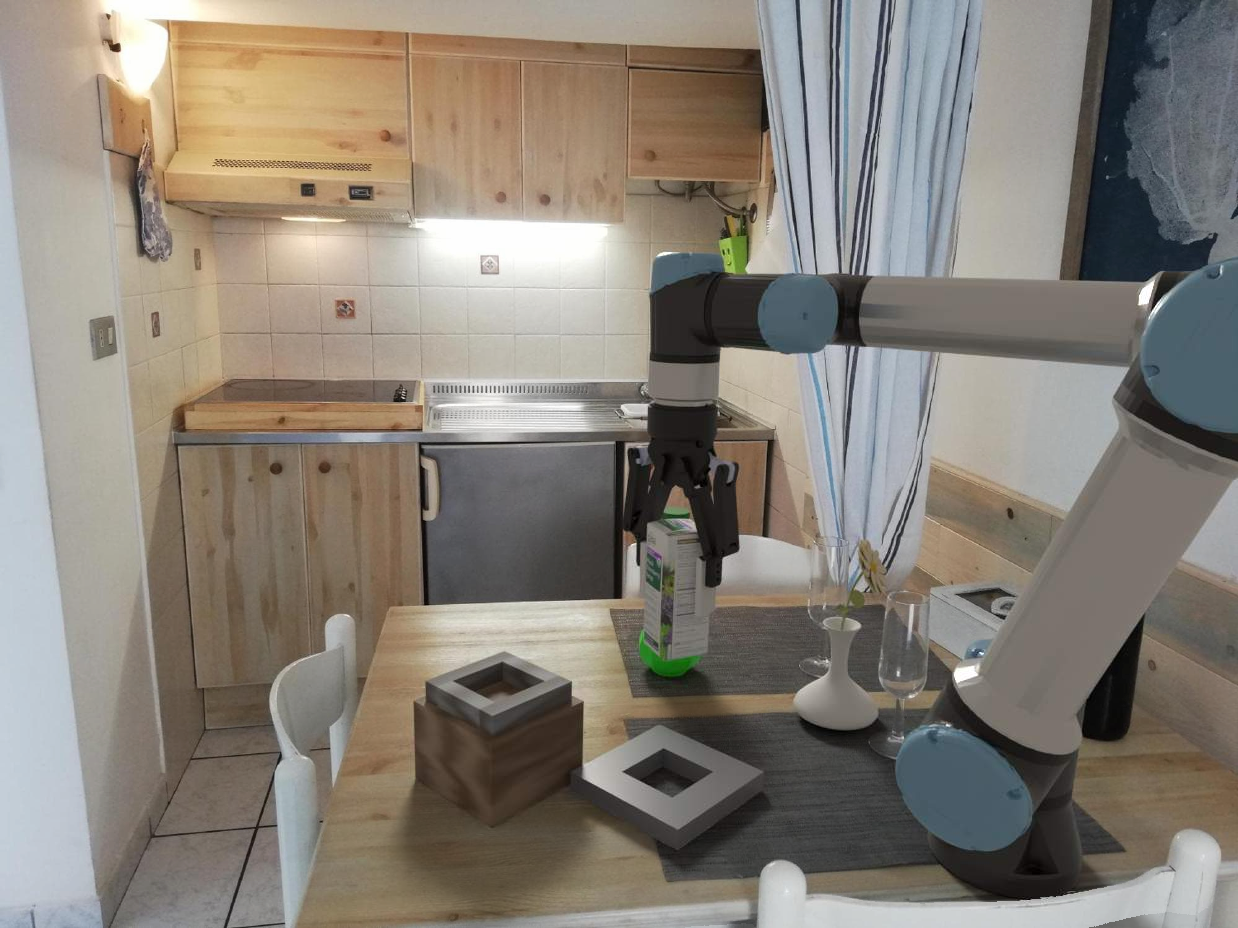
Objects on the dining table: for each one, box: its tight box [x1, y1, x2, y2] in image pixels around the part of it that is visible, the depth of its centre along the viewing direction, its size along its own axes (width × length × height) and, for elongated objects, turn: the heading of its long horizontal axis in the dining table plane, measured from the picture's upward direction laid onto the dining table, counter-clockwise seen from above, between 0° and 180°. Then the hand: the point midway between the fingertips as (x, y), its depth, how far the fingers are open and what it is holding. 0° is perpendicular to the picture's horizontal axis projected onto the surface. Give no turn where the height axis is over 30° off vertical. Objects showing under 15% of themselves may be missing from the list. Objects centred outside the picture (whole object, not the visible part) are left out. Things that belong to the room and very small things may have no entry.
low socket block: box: [569, 724, 765, 850], centre depth 109 cm, size 16×16×2 cm
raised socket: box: [413, 650, 585, 828], centre depth 110 cm, size 14×14×12 cm
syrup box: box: [643, 519, 711, 661], centre depth 104 cm, size 6×6×14 cm
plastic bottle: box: [638, 506, 703, 678], centre depth 139 cm, size 10×10×25 cm
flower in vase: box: [792, 539, 890, 731], centre depth 126 cm, size 13×11×25 cm
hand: (676, 603), depth 104 cm, fingers closed on syrup box, 7 cm apart
